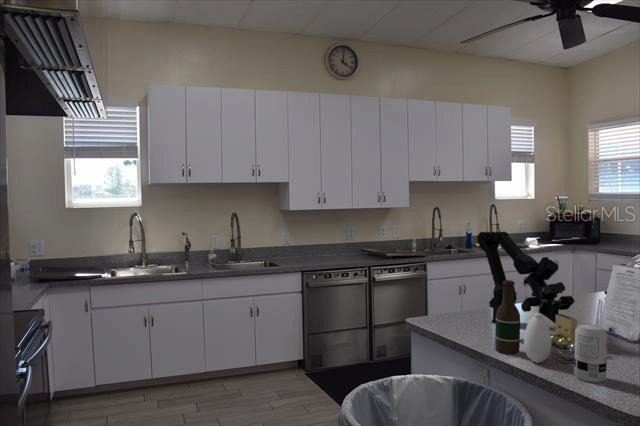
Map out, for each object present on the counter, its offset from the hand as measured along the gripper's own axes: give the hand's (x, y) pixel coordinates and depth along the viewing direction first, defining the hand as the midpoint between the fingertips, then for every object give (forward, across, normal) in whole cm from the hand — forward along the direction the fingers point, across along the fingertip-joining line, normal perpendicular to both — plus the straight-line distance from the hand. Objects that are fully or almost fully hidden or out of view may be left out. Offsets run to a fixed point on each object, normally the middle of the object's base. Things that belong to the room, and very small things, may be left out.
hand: (558, 323), depth 180 cm
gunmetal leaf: (+15, -6, -5) cm, 17 cm away
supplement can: (+28, -13, -17) cm, 35 cm away
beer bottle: (+8, -22, +2) cm, 24 cm away
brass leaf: (+8, -2, +2) cm, 8 cm away
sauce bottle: (+17, -19, -6) cm, 26 cm away
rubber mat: (+10, -4, +1) cm, 11 cm away
